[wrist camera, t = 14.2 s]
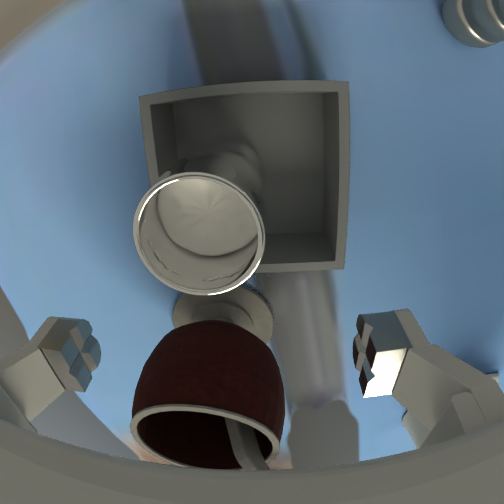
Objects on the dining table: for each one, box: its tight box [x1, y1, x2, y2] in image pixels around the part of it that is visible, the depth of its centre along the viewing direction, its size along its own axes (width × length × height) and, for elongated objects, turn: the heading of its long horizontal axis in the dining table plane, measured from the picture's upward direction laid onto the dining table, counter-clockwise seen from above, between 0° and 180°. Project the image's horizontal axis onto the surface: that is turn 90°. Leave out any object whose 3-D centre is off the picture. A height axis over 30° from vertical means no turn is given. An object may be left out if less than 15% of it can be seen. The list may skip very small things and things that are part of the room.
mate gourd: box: [130, 284, 285, 470], centre depth 29 cm, size 16×14×20 cm
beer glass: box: [133, 138, 269, 296], centre depth 21 cm, size 7×7×15 cm
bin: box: [139, 80, 350, 273], centre depth 26 cm, size 15×15×7 cm
